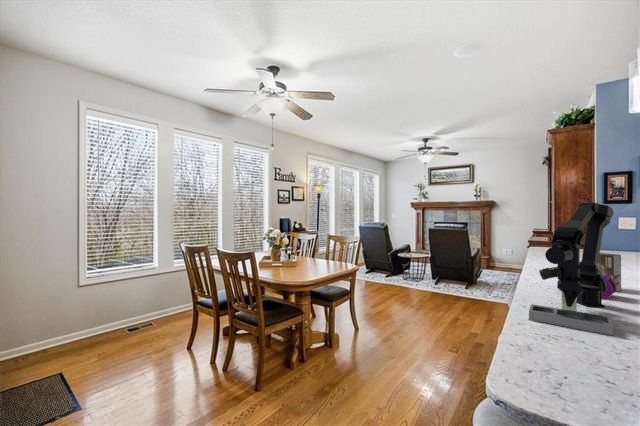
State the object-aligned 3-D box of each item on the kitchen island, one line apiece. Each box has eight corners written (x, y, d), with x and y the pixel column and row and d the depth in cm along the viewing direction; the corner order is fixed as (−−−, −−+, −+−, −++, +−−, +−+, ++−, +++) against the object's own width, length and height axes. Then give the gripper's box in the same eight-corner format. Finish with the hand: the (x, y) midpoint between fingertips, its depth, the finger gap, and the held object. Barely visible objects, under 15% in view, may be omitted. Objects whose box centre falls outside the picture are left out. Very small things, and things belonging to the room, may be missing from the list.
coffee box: (622, 290, 131) (622, 254, 131) (614, 292, 129) (614, 255, 129) (596, 285, 140) (596, 252, 140) (588, 287, 138) (588, 252, 137)
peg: (561, 309, 108) (561, 287, 108) (576, 311, 106) (576, 289, 105) (561, 312, 105) (561, 290, 105) (576, 314, 102) (576, 291, 102)
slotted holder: (609, 326, 92) (609, 316, 92) (613, 335, 86) (613, 325, 85) (531, 312, 105) (531, 304, 105) (528, 319, 98) (528, 310, 98)
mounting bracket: (564, 306, 129) (616, 297, 116) (554, 287, 132) (604, 276, 119) (570, 302, 135) (621, 292, 122) (560, 283, 138) (608, 272, 125)
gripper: (542, 255, 117) (542, 295, 118) (538, 262, 103) (539, 307, 103) (579, 258, 110) (579, 300, 110) (581, 266, 96) (581, 314, 96)
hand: (569, 304), depth 105 cm, fingers closed on peg, 4 cm apart
